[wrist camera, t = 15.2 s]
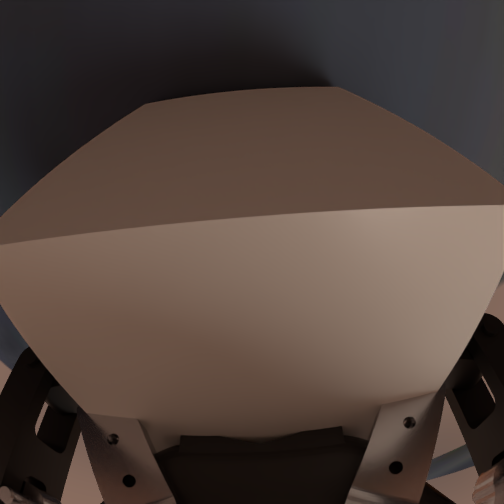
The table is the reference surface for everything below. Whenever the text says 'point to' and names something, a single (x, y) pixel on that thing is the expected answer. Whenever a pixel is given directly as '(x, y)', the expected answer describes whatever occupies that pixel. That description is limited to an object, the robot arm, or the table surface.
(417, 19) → the table surface
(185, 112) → the tan block
